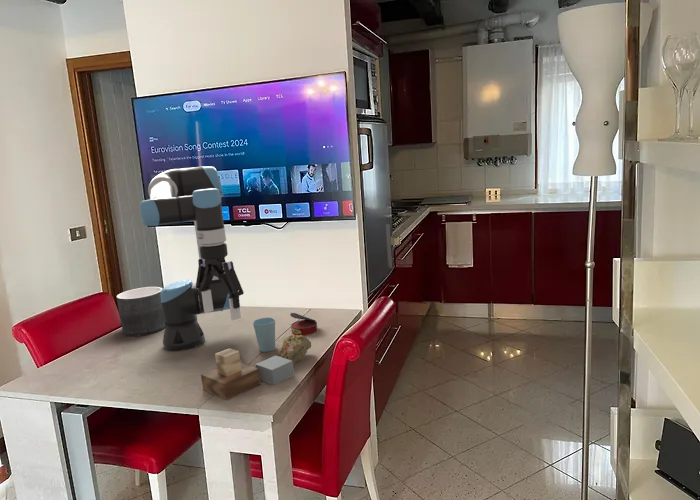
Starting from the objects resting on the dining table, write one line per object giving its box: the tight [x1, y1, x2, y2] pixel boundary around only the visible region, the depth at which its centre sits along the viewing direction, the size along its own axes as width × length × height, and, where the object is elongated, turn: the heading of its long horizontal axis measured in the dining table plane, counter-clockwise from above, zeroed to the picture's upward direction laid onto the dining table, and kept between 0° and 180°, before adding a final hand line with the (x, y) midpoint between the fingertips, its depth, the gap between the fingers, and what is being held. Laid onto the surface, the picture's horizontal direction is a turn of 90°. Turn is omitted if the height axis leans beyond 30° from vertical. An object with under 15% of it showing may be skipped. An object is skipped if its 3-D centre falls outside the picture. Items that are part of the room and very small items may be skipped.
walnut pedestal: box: [200, 362, 261, 401], centre depth 159 cm, size 12×12×5 cm
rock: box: [278, 334, 312, 365], centre depth 176 cm, size 12×9×10 cm
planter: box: [116, 286, 165, 337], centre depth 221 cm, size 18×18×16 cm
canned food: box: [289, 312, 318, 336], centre depth 203 cm, size 11×10×10 cm
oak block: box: [214, 348, 242, 377], centre depth 157 cm, size 5×5×6 cm
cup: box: [252, 317, 276, 353], centre depth 187 cm, size 8×8×10 cm
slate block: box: [255, 355, 295, 386], centre depth 163 cm, size 8×8×5 cm
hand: (222, 315), depth 155 cm, fingers open, 13 cm apart
